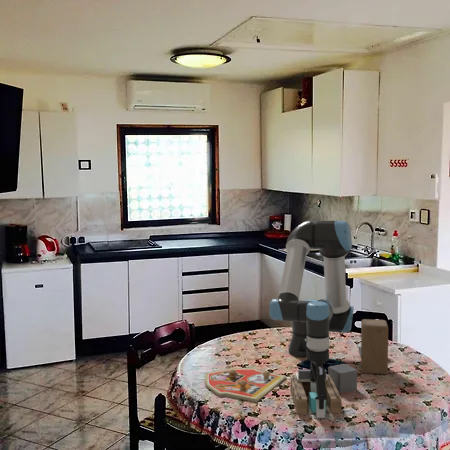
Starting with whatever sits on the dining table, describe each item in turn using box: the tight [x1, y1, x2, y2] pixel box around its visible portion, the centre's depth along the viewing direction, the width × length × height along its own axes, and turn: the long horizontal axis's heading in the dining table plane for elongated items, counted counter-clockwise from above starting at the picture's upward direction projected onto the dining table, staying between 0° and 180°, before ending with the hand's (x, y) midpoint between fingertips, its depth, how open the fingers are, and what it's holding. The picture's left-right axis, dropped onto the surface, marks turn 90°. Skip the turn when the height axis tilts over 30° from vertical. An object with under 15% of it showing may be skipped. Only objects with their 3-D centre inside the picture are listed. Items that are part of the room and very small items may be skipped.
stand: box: [327, 363, 358, 394], centre depth 206 cm, size 8×8×8 cm
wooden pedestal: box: [290, 374, 342, 415], centre depth 195 cm, size 19×15×6 cm
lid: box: [294, 369, 328, 382], centre depth 203 cm, size 7×11×4 cm, turn 89°
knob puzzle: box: [204, 367, 287, 404], centre depth 214 cm, size 29×30×4 cm
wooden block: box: [360, 318, 389, 375], centre depth 224 cm, size 10×10×20 cm
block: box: [309, 392, 327, 414], centre depth 188 cm, size 5×5×5 cm
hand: (317, 408), depth 188 cm, fingers open, 13 cm apart
